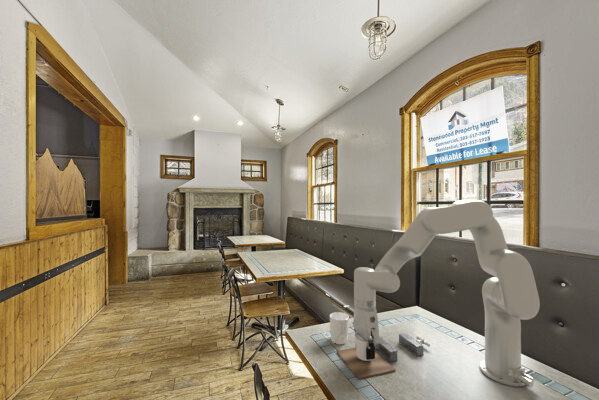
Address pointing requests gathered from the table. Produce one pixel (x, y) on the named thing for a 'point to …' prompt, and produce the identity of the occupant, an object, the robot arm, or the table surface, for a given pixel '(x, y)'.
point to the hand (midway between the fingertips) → (365, 352)
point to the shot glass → (361, 346)
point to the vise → (404, 340)
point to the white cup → (339, 327)
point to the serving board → (365, 364)
